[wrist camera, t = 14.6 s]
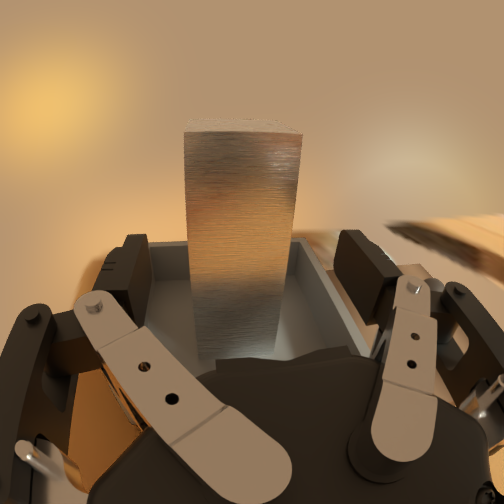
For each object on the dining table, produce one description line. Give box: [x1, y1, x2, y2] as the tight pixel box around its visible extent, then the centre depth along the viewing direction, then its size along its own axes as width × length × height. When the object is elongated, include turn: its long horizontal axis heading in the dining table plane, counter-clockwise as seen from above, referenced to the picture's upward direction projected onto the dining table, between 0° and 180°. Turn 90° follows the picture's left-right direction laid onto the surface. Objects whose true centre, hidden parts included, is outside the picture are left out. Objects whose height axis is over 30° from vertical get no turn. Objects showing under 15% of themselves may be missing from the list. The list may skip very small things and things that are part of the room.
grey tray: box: [109, 238, 371, 425], centre depth 20 cm, size 14×14×4 cm
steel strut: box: [184, 119, 303, 360], centre depth 17 cm, size 5×5×14 cm
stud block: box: [326, 264, 469, 406], centre depth 21 cm, size 12×16×6 cm
